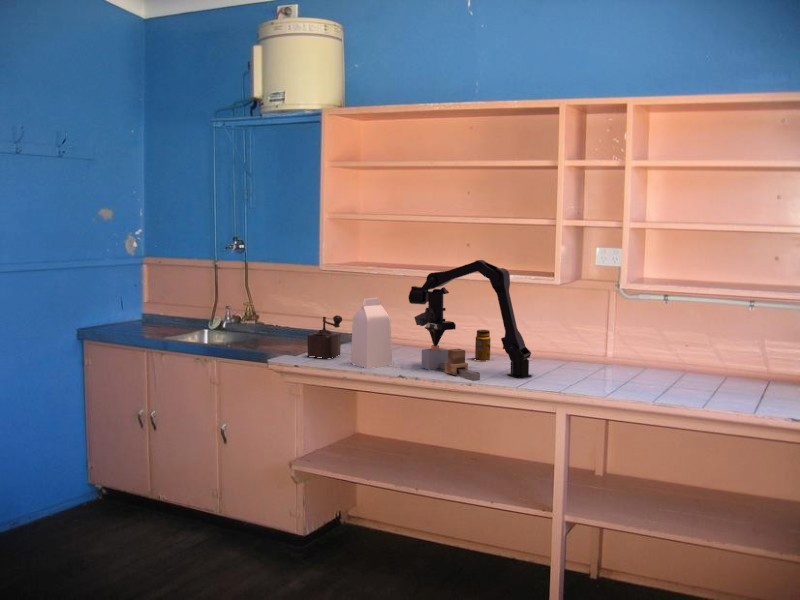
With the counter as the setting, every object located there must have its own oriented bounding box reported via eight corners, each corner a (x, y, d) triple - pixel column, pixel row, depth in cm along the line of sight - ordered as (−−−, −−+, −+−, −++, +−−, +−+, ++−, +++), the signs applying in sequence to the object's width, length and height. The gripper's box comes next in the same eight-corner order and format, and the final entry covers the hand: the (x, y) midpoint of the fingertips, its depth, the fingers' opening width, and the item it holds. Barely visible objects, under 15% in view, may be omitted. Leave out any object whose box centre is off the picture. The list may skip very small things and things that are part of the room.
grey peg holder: (448, 367, 307) (448, 349, 307) (428, 369, 303) (428, 351, 302) (441, 365, 312) (441, 347, 311) (421, 367, 307) (421, 349, 306)
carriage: (467, 373, 294) (468, 350, 293) (454, 374, 291) (454, 351, 290) (458, 370, 299) (458, 348, 298) (444, 372, 296) (445, 349, 295)
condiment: (494, 360, 325) (495, 330, 323) (478, 362, 320) (478, 332, 319) (483, 357, 331) (483, 328, 330) (466, 359, 326) (467, 330, 325)
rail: (483, 379, 286) (483, 372, 286) (469, 381, 283) (469, 374, 283) (448, 369, 305) (448, 362, 305) (435, 370, 302) (435, 363, 302)
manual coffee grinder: (305, 357, 327) (305, 314, 325) (319, 353, 337) (319, 311, 335) (339, 360, 321) (339, 316, 319) (352, 356, 331) (352, 313, 329)
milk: (366, 368, 305) (367, 300, 302) (350, 364, 314) (350, 298, 311) (392, 365, 312) (393, 298, 309) (375, 361, 321) (376, 296, 318)
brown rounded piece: (440, 353, 306) (440, 346, 306) (434, 354, 305) (434, 346, 304) (436, 352, 309) (436, 344, 308) (429, 353, 307) (429, 345, 307)
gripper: (404, 304, 308) (404, 344, 310) (431, 308, 293) (431, 351, 294) (429, 302, 314) (428, 341, 316) (456, 307, 298) (456, 348, 300)
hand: (435, 345), depth 306 cm, fingers closed, pressing on brown rounded piece
